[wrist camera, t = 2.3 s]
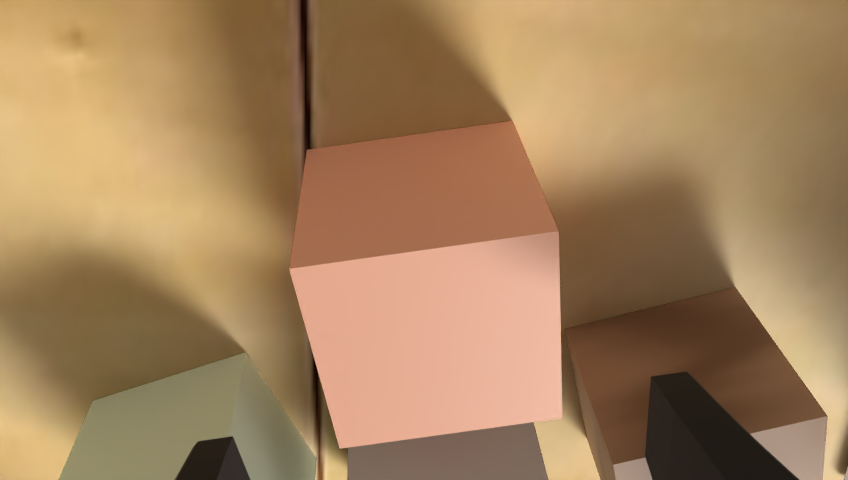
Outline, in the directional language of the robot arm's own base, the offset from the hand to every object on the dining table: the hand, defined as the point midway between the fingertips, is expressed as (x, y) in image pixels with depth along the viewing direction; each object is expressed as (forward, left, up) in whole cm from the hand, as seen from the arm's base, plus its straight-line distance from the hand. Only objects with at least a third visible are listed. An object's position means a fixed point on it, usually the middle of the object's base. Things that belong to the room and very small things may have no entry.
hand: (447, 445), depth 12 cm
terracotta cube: (0, 0, -8) cm, 8 cm away
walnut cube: (-7, +7, -8) cm, 12 cm away
